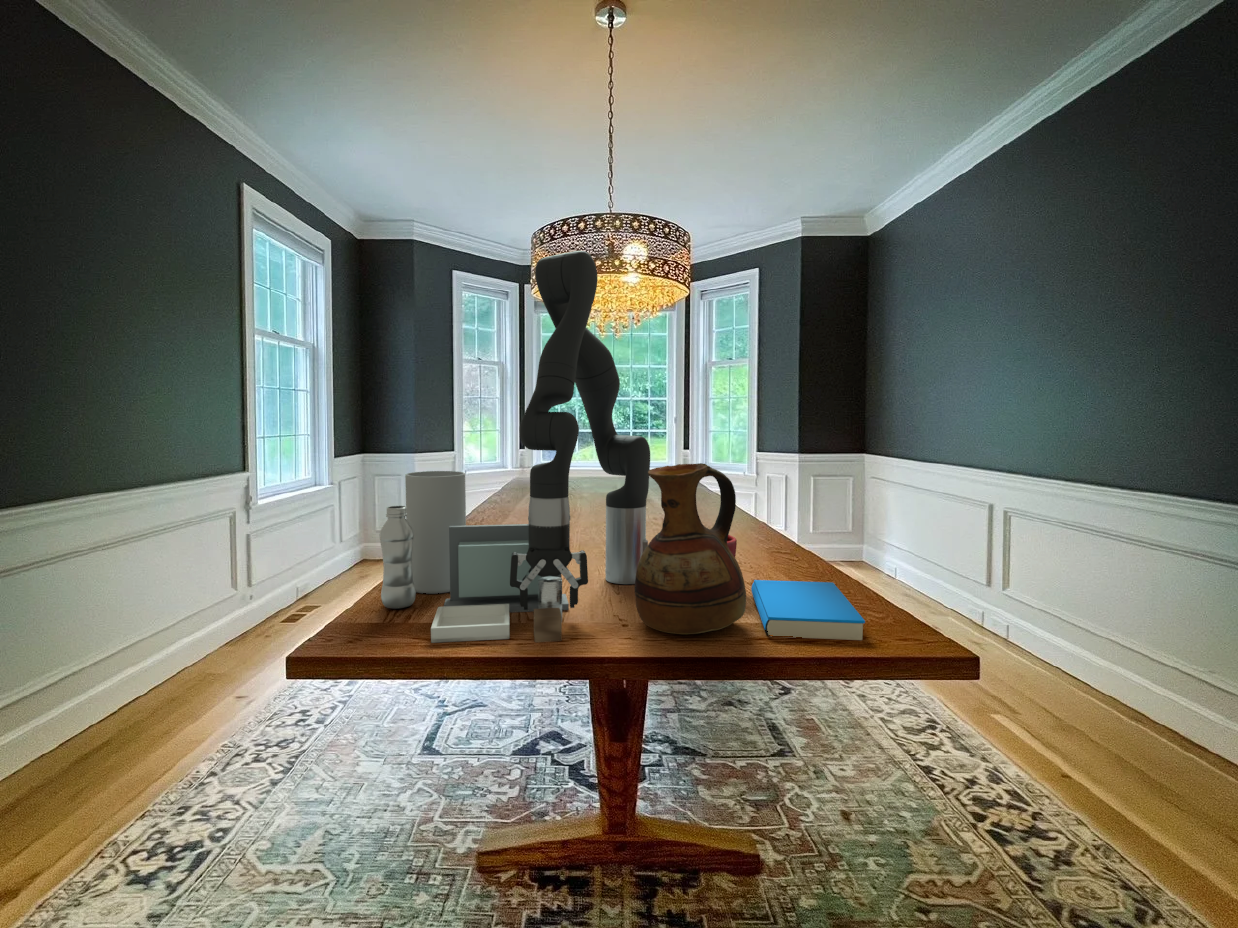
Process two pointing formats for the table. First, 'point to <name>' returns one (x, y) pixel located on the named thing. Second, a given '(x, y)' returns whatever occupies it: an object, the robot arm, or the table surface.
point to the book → (806, 610)
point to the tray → (470, 623)
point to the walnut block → (547, 625)
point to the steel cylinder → (550, 592)
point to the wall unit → (489, 566)
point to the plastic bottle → (397, 559)
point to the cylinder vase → (433, 525)
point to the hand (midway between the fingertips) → (548, 607)
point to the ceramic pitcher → (690, 559)
